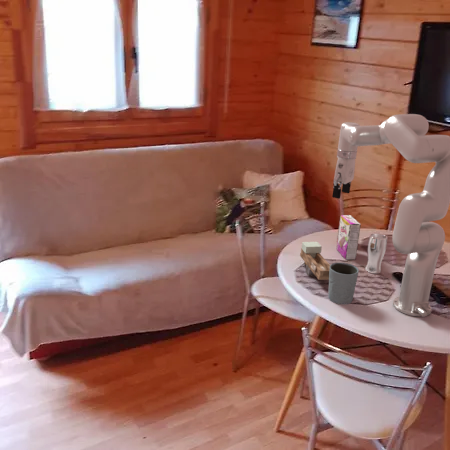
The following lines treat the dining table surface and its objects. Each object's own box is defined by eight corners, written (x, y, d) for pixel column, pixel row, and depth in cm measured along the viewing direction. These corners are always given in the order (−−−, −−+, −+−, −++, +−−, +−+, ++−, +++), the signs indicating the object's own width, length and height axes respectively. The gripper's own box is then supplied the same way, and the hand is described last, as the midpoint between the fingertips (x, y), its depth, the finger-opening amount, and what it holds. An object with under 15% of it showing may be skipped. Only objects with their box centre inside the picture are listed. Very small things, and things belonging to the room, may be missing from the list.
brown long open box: (334, 286, 186) (336, 270, 184) (316, 287, 185) (318, 271, 183) (314, 261, 206) (315, 247, 204) (298, 262, 205) (299, 247, 203)
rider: (320, 257, 199) (321, 246, 197) (305, 258, 198) (306, 246, 196) (316, 252, 203) (317, 241, 202) (301, 253, 202) (302, 242, 200)
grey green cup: (339, 308, 171) (344, 276, 167) (319, 295, 179) (323, 265, 175) (360, 301, 176) (365, 270, 172) (340, 289, 184) (344, 259, 180)
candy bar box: (335, 249, 220) (340, 214, 214) (346, 249, 221) (351, 214, 215) (345, 260, 209) (350, 223, 204) (356, 260, 210) (361, 223, 204)
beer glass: (382, 275, 197) (388, 240, 192) (364, 272, 199) (370, 238, 193) (381, 267, 204) (386, 234, 199) (363, 265, 205) (369, 232, 200)
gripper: (347, 159, 188) (341, 202, 195) (363, 152, 202) (357, 192, 208) (329, 156, 192) (323, 197, 199) (346, 149, 206) (340, 188, 212)
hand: (340, 195), depth 203 cm, fingers open, 9 cm apart
